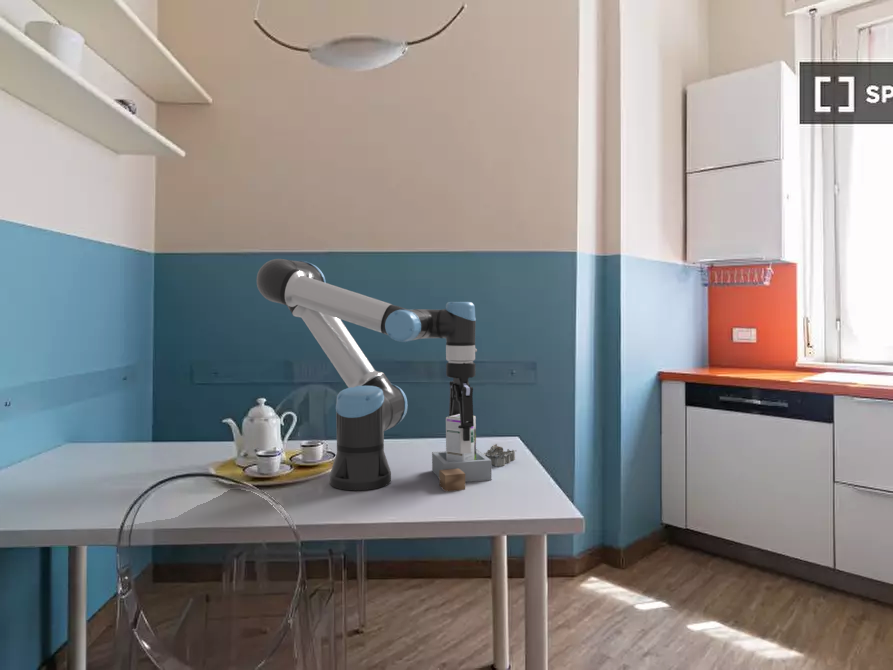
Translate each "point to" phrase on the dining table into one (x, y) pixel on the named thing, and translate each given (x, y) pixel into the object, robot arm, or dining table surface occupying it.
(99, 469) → the dining table surface
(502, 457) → the egg carton
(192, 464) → the dining table surface
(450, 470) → the walnut stub
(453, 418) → the syrup box
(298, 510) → the dining table surface
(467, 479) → the socket
